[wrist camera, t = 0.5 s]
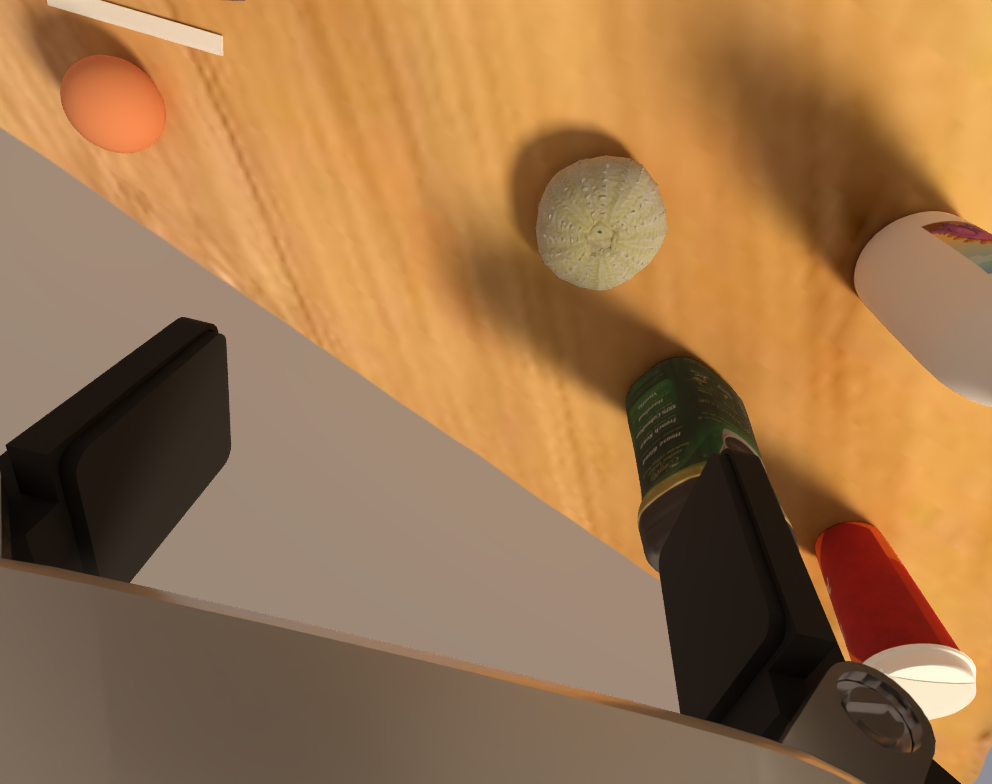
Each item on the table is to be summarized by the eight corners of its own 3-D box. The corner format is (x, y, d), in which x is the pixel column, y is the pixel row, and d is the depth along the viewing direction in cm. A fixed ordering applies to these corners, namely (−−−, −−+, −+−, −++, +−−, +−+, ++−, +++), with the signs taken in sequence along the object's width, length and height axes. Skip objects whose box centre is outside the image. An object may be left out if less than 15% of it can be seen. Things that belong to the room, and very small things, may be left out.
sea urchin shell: (508, 265, 44) (535, 219, 36) (545, 177, 46) (579, 115, 38) (617, 316, 45) (666, 282, 38) (650, 228, 47) (703, 178, 39)
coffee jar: (608, 398, 51) (618, 565, 36) (679, 338, 48) (724, 496, 32) (686, 459, 54) (726, 640, 38) (759, 406, 50) (836, 585, 35)
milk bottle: (883, 331, 45) (1058, 521, 28) (829, 260, 43) (984, 421, 26) (993, 265, 42) (1266, 438, 25) (940, 183, 39) (1202, 313, 23)
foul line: (46, -16, 40) (44, -16, 39) (222, 35, 40) (221, 35, 40) (50, 5, 40) (47, 5, 40) (223, 55, 41) (221, 55, 40)
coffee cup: (785, 561, 59) (839, 709, 47) (829, 503, 55) (902, 650, 42) (866, 581, 59) (941, 735, 47) (917, 525, 55) (1015, 679, 42)
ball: (96, 41, 41) (28, 45, 36) (181, 65, 41) (125, 73, 36) (106, 131, 44) (46, 147, 39) (185, 153, 45) (134, 172, 40)
